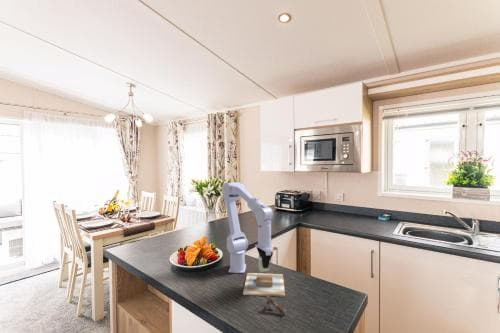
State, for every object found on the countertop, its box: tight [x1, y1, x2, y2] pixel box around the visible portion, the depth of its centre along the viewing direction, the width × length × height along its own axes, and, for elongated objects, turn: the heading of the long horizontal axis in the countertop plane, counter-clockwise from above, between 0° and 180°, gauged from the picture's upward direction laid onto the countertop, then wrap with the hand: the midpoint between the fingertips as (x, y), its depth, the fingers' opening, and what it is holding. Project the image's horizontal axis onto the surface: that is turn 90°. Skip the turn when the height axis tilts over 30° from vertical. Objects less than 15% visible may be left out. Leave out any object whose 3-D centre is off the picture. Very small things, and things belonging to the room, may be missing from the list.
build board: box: [242, 272, 286, 298], centre depth 106 cm, size 18×17×3 cm
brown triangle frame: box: [264, 296, 287, 317], centre depth 87 cm, size 2×8×4 cm, turn 52°
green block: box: [257, 255, 270, 273], centre depth 106 cm, size 4×4×5 cm
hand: (264, 265), depth 106 cm, fingers closed on green block, 4 cm apart
